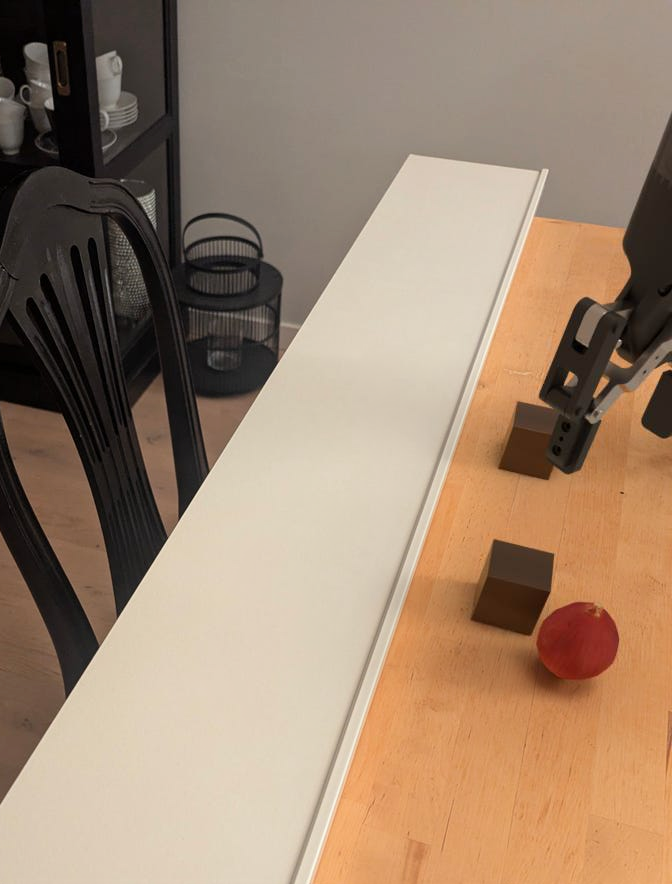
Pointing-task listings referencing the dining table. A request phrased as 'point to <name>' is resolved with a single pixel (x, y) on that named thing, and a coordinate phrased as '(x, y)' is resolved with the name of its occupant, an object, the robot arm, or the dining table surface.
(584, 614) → the onion
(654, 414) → the robot arm
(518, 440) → the walnut block far
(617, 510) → the dining table surface
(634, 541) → the dining table surface
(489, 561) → the walnut block near
